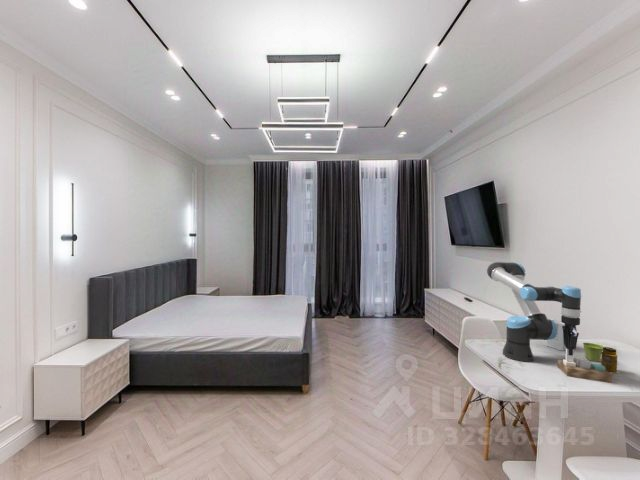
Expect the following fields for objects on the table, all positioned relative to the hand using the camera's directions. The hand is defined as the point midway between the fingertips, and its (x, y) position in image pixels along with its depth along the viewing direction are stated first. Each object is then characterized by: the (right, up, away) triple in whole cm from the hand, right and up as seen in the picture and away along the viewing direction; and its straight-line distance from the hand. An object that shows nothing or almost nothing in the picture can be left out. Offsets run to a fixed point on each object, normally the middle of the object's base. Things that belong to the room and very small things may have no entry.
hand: (569, 360), depth 155 cm
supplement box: (+24, -7, +37) cm, 45 cm away
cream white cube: (0, -4, 0) cm, 4 cm away
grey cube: (+6, -3, -2) cm, 7 cm away
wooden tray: (+5, -6, -2) cm, 9 cm away
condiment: (+24, -7, +3) cm, 25 cm away
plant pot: (+29, -7, +17) cm, 34 cm away
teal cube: (+11, -5, -4) cm, 13 cm away
